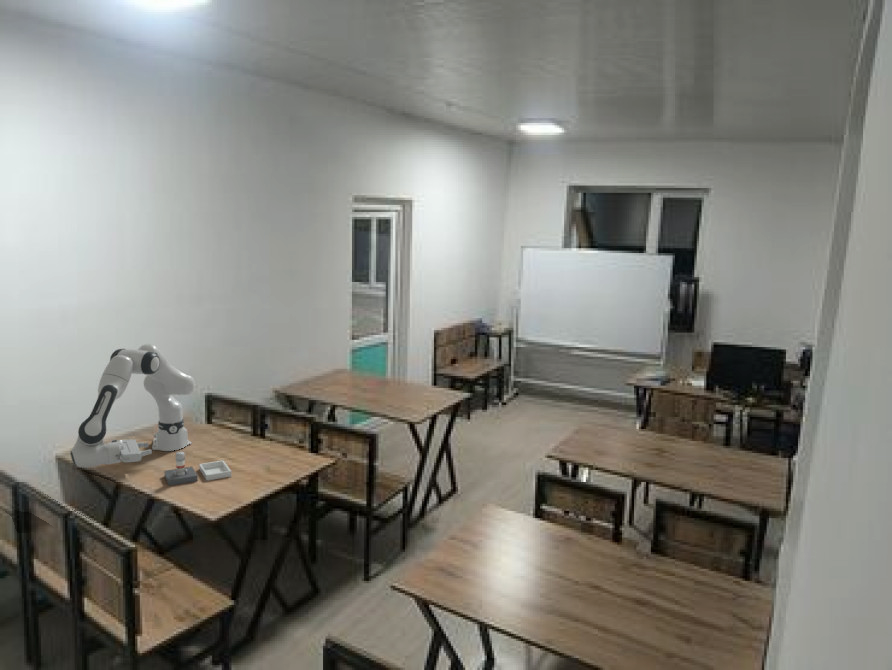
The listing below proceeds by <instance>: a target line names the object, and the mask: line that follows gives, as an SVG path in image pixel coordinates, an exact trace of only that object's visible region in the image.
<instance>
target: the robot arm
mask: <svg viewBox="0 0 892 670" xmlns="http://www.w3.org/2000/svg"><path fill="white" fill-rule="evenodd" d="M132 374H133V375H134V374H135V375H146V376H144V379H143V387H144V390H145V391H146V392H148V393H149V394H150V395H151V396H152V397H153V399H154V401H155V403H156V405H157V410H158V418H159V420H158V425H157V426H158V429H157V431H156V432H155V433H153V441H152V448H149V447H150V445H149V442H137V441H136V439H134V438H133V439H131V438H130V439H119V440H117V439H112V440H111V441H110V442H108V443H104V438H105V436H106V434H107V419H108V417H109V415H110V414H109V413H110V412H111V409H112V407H113V404H114V403H115V401H116V400H118V399H119V398H121V397H122V396H123V394H124V393H125V391H126V390H127V387H128V385H129V383H130V381H131V380H130V379H131V377H132ZM195 388H196V381H195V378H194V377H193V376H192V375H189V374H186V373H185V372H182V371H181V370H179V369H178V368H176V367H175V366H174V365H173V364H171V362H169V360H168V359H167V357H166V356H165V354H164V353H163V352H162V351H161V350H160V348H158V347H157V346H156V345H154V344H151V343H146V344H142V345H141V346H139V348H137V349H132V348H128V349H126V348H118V349H116V350H114V352H113V351H112V354H111V355H110V359H109V362H108V364H107V365H106V367H105V368H104V371H103V373H102V374H101V377H100V379H99V383H98V388H97V394H98V395H97V399H96V401H95V402H94V403H95V404H94V406H93V408H92V411H91V412H90V415H89V416H87V418H86V419H85V420H84V421H82V423H81V424H80V425H79V426H78V427H79V428H78V431H77V432H78V435H77V438H76V441H75V444H74V445H73V447H72V448H71V450H70V458H71V462H72V464H73V465H74V467H77V468H91V467H98V466H99V465H112V464H118V463H119V464H120V463H121V462H122V463H134V462H140V461H142V458H143V457H145V456H148V455H152V454H153V451H162V452H174V450H175V451H179V449H180V450H182V449H181V448H183V449H185V448H186V447H188V446H189V445H188V444H190V445H192V441H191V440H189V439H188V438H189V437H188V430H187V428H186V427H185V425H184V423H185V421H184V418H183V405H182V403H181V402H180V401H178V400H177V399H176V398H174V396H187V395H190V394H192V393H193V392H194V390H195ZM187 445H188V446H187ZM185 446H186V447H185ZM184 447H185V448H184ZM140 448H144V449H145V448H148V449H145V450H141V449H140ZM152 450H153V451H152Z"/></svg>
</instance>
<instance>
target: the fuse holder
mask: <svg viewBox="0 0 892 670" xmlns="http://www.w3.org/2000/svg"><path fill="white" fill-rule="evenodd" d="M176 472H177V468H173V469H166V470H164V472H163V473H164V478H165V480H166V482H167V484H168V486H170V487H171V486H175V485H181V484H189V483H193V482H198V479H199V477H198V476H199V475H198V474H197V472H196V470H195V469H194V467H193V466H187V467H185V474H184V475H178V476H176Z"/></svg>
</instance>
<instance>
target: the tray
mask: <svg viewBox="0 0 892 670" xmlns="http://www.w3.org/2000/svg"><path fill="white" fill-rule="evenodd" d="M198 464H199V468H198V469H199V471H200V472H201V474H202V476H203V477H204V479H205V481H207V482H208V481H211V480H217V479H218V480H219V479H224V478H232V469H230V467H229V466H228V464H227V463H226V462H225V461H224V460H216V461H210V462H204V463H203V462H202V463H198Z"/></svg>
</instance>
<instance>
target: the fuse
mask: <svg viewBox="0 0 892 670" xmlns="http://www.w3.org/2000/svg"><path fill="white" fill-rule="evenodd" d="M185 455H186V453H185V452H184V451H177V452H175V461H176V463H175V464H176V465H175V466H176V468H175V469H177V472H176V476H178V475H184V474H185V465H186V464H185V460H186V459H185V458H186V456H185Z"/></svg>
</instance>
